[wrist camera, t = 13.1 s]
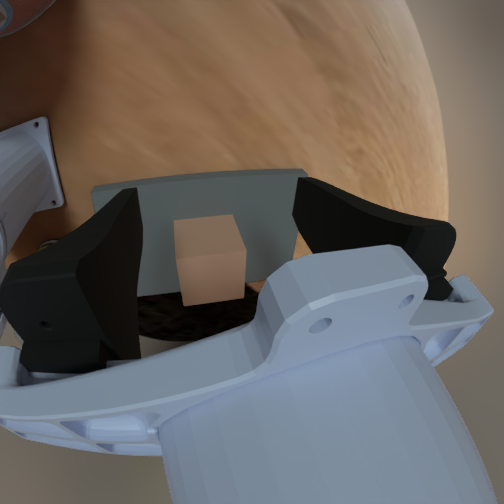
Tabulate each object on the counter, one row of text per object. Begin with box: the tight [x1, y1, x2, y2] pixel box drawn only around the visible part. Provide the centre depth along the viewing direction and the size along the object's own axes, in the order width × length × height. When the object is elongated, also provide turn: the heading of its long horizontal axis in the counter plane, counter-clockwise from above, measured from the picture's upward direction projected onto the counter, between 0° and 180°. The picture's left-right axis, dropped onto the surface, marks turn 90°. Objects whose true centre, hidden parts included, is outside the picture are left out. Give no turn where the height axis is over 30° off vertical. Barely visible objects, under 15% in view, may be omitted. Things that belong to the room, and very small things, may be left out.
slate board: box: [91, 169, 308, 296], centre depth 25 cm, size 18×12×1 cm, turn 86°
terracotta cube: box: [174, 214, 247, 306], centre depth 22 cm, size 5×5×5 cm
